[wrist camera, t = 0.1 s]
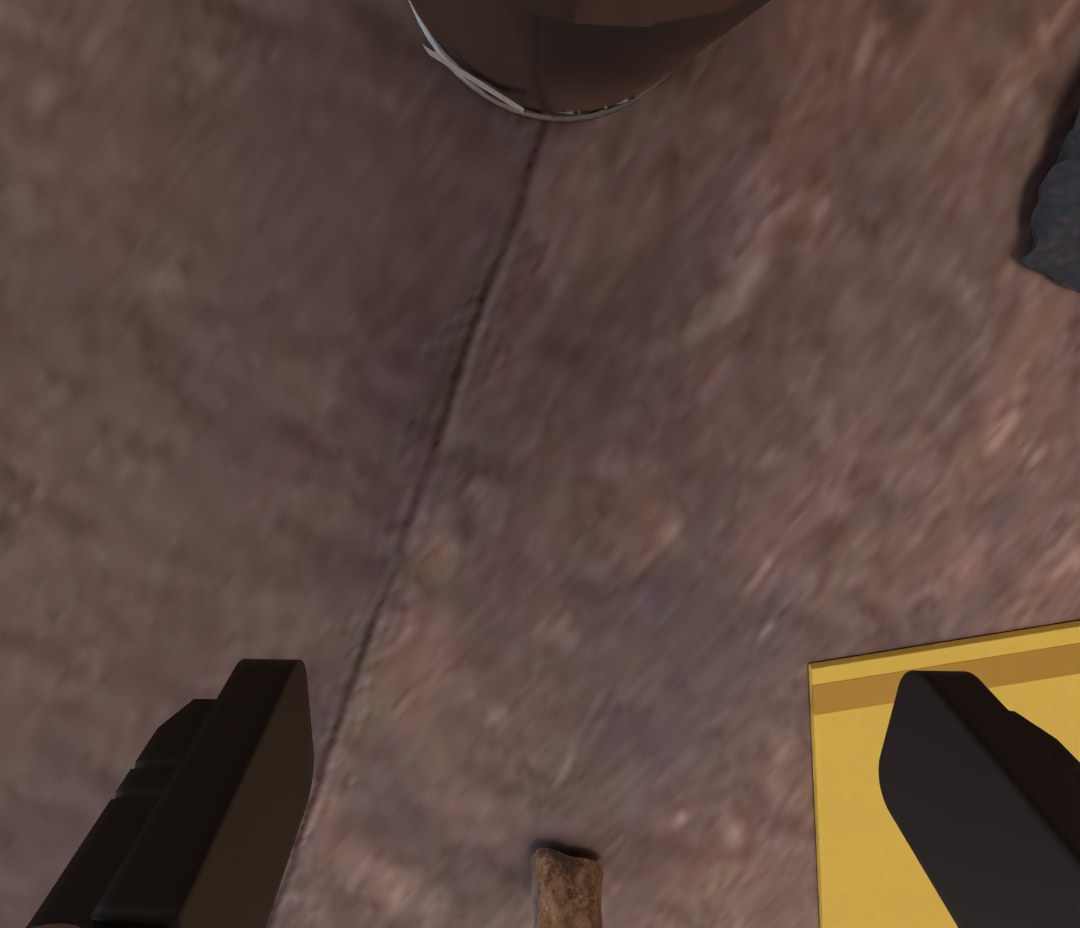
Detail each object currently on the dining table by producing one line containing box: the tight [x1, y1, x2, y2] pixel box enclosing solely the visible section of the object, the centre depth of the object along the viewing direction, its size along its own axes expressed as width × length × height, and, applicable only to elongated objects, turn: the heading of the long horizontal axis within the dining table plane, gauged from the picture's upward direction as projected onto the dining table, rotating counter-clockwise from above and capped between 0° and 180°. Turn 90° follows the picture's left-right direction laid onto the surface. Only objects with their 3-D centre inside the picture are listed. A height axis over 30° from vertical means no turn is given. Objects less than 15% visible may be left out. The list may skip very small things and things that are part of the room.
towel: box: [808, 621, 1080, 928], centre depth 34 cm, size 20×15×1 cm
